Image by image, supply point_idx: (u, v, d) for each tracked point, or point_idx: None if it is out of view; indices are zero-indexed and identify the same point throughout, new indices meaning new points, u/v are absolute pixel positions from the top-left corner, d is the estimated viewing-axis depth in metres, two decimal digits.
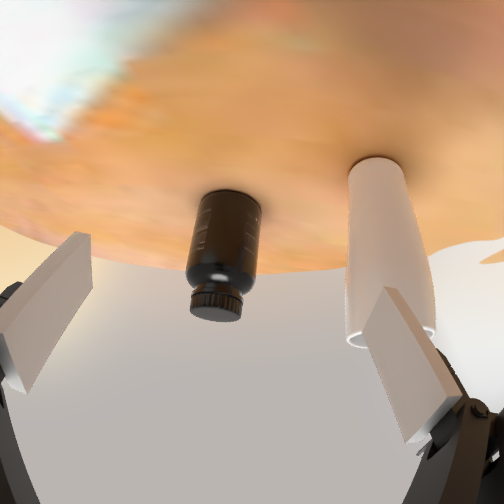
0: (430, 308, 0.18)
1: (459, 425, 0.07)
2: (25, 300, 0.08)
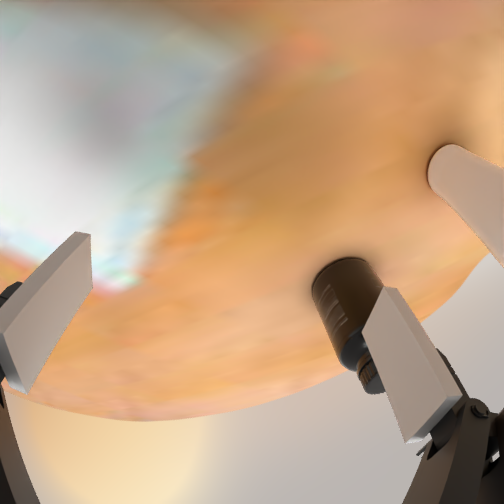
0: None
1: (459, 425, 0.07)
2: (25, 300, 0.08)
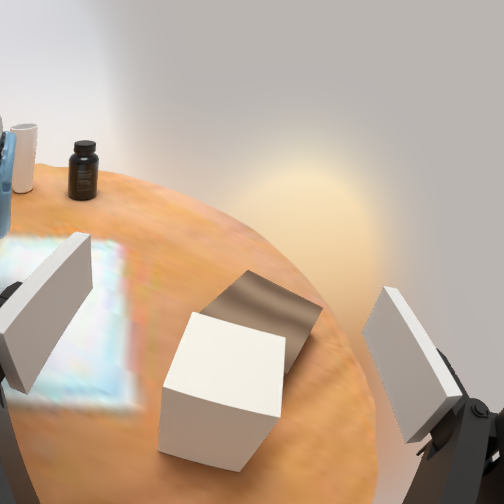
0: None
1: (459, 425, 0.07)
2: (25, 300, 0.08)
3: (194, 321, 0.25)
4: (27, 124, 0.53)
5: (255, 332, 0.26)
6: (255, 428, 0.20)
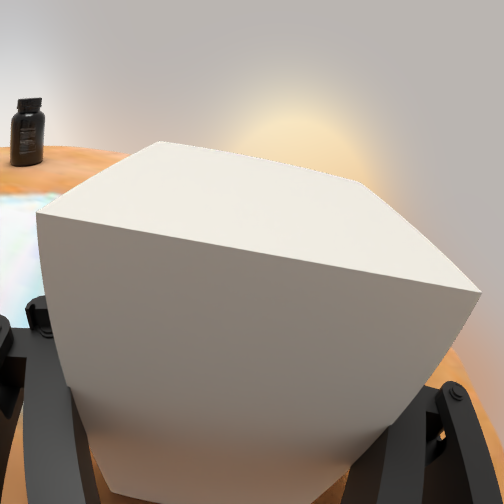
0: None
1: None
2: None
3: (161, 146, 0.10)
4: None
5: (300, 168, 0.12)
6: (392, 376, 0.06)
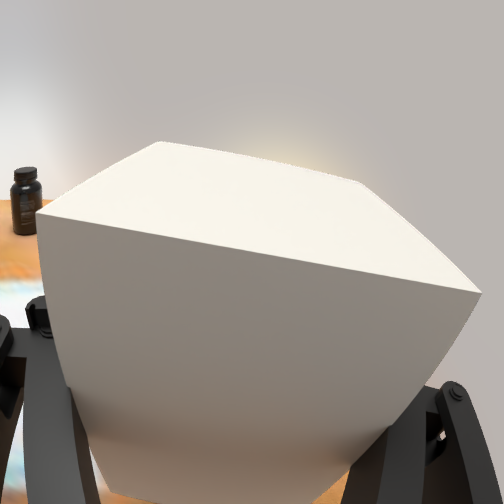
0: None
1: None
2: None
3: (161, 146, 0.10)
4: None
5: (300, 168, 0.12)
6: (392, 376, 0.06)
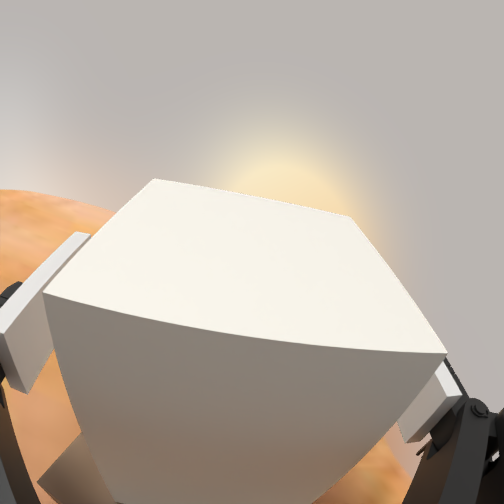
0: None
1: (459, 425, 0.07)
2: (25, 300, 0.08)
3: (156, 186, 0.11)
4: None
5: (291, 206, 0.12)
6: (362, 419, 0.06)
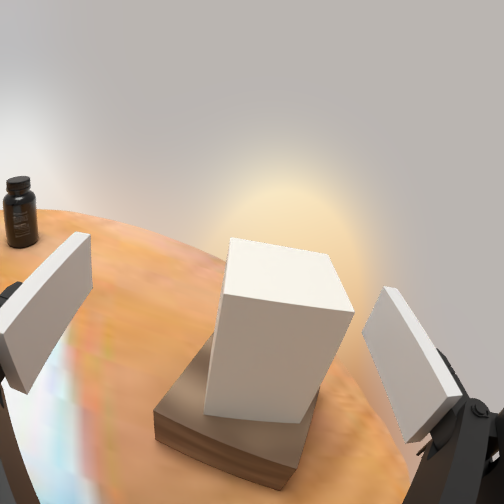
0: None
1: (459, 426, 0.07)
2: (25, 300, 0.08)
3: (234, 243, 0.24)
4: None
5: (298, 250, 0.25)
6: (327, 338, 0.20)
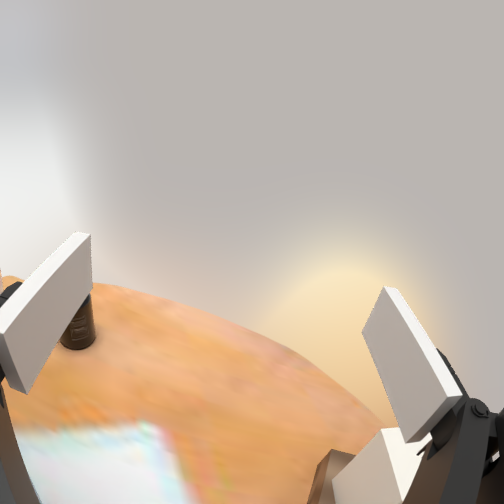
0: None
1: (459, 425, 0.07)
2: (25, 300, 0.08)
3: (387, 437, 0.23)
4: None
5: None
6: None
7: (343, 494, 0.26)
